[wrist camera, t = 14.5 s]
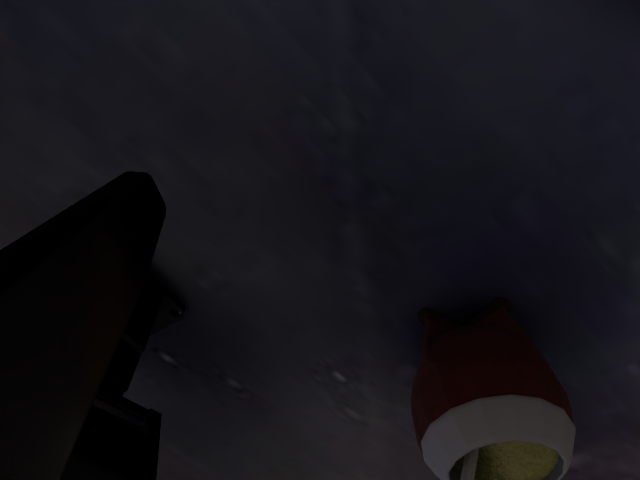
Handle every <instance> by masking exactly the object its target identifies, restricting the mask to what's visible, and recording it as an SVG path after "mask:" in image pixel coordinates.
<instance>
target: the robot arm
mask: <svg viewBox="0 0 640 480" xmlns="http://www.w3.org/2000/svg"><path fill="white" fill-rule="evenodd" d="M165 215H166V206H165V203H164V200H163V198H162V196H161V194H160V192H159V190H158V188H157V186H156V184H155V182H154V180H153V178H152V177H151V176H150V175H149V174H148V173H145V172H133V171H129V172H125V173H123V174H122V175H120V176H118V177H117V178H115V179H114V180H112V181H110V182H109V183H107V184H106V185H104V186H102V187H101V188H99V189H98V190H96V191H94V192H93V193H91V194H90V195H88V196H86V197H85V198H83V199H82V200H80V201H78V202H77V203H75V204H74V205H72V206H70V207H69V208H67V209H66V210H64V211H62V212H61V213H59V214H58V215H56V216H54V217H53V218H51V219H50V220H48V221H46V222H45V223H43V224H42V225H40V226H38V227H37V228H35V229H34V230H32V231H30V232H29V233H27V234H26V235H24V236H22V237H21V238H19V239H18V240H16V241H14V242H13V243H11V244H10V245H8V246H6V247H5V248H3V249H2V250H0V480H156V476H157V464H158V452H159V440H160V428H161V413H159V412H157V411H155V410H153V409H151V408H150V409H147V408H145V407H143V406H141V405H139V404H137V403H135V402H133V401H131V400H129V399H127V398H125V397H123V394H124V392H126V391H127V390H128V387H129V385H130V382H131V380H132V377H133V374H134V372H135V369H136V367H137V364H138V361H139V359H140V356H141V354H142V352H143V351H144V350H145V347H146V344H147V342H148V339H149V336H150V335H152V334H153V333H155V332H157V331H159V330H161V329H163V328H165V327H166V326H168V325H170V324H172V323H174V322H176V321H178V320H180V319H181V318H182V317H183V316H184V313H185V310H186V307H185V305H184V304H183V303H182V302H181V301H180V300H179V299H177V298H176V297H175V296H174V295H173V294H172V293H171V292H170V291H168V290H167V289H166V288H165V287H164V286H163V285H162V284H161V283H159V282H158V281H157V280H156V279H155V278H154V277H153V276H152V275H150V274H149V273H148V271H149V268H150V265H151V261H152V258H153V255H154V252H155V248H156V245H157V242H158V239H159V235H160V232H161V229H162V226H163V222H164V219H165ZM173 309H175V310H177V311H175V310H173Z"/></svg>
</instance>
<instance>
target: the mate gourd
mask: <svg viewBox="0 0 640 480" xmlns="http://www.w3.org/2000/svg"><path fill="white" fill-rule="evenodd" d="M512 308H513V307H512V305H511V304H510V303H509V301H508V300H507V299H505V298H503V297H498V298H497V299H495V300H494V301H493V302H491V303H490V304H489V305H488V306H487V307H486V308H485V309H483V310H482V311H481V312H480V313H479V314H478V315H476V316H475V317H474V318H473V319H472V320H470V321H469V322H468V323H467V324H463V325H462V324H460V323H457V322H455V321H453V320H451V319H449V318H447V317H445V316H443V315H442V314H440V313H438V312H436V311H434V310H432V309H429V308H427V307H426V308H423V309H422V310H421V311H420V312H419V313H418V315H417V316H418V321H419V322H420V323H422V324H423V325H425V326H424V335H423V347H422V353H423V357H422V359H421V362H420V365H419V368H418V371H417V374H416V377H415V380H414V383H413V389H412V397H411V402H412V416H413V422H414V428H415V433H416V437H417V441H418V444H419V447H420V449H421V451H422V454H423V457H424V461H425V463H426V464H427V465H428V467H429V468H430V469H431V470H432V471H433V472H434V474H435V475H436V476H437V477H438V478H439V479H440V480H560V479H561V478H562V477H563V475H564V474H565V473H566V472H567V471H568V468H569V465H570V462H571V459H572V453H573V447H574V439H575V432H576V431H575V426H574V424H573V417H572V409H571V406H570V403H569V400H568V397H567V394H566V392H565V391H564V389H563V387H562V386H561V384H560V382H559V381H558V379H557V377H556V376H555V374H554V372H553V371H552V369H551V368H550V366H549V364H548V363H547V361H546V360H545V359H544V358H543V357H542V355H541V354H540V353H539V352H538V351H537V350H536V348H535V347H534V345H533V343H532V341H531V340H530V338H529V336H528V334H527V333H526V332H525V331H524V330H523V328H522V327H521V326H520V325H519V324H518V323H517V322H516V321H515V320H514V319H513V318H512V316H511V315H510V314H509V313H508V312H509V311H510V310H511V309H512Z"/></svg>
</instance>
